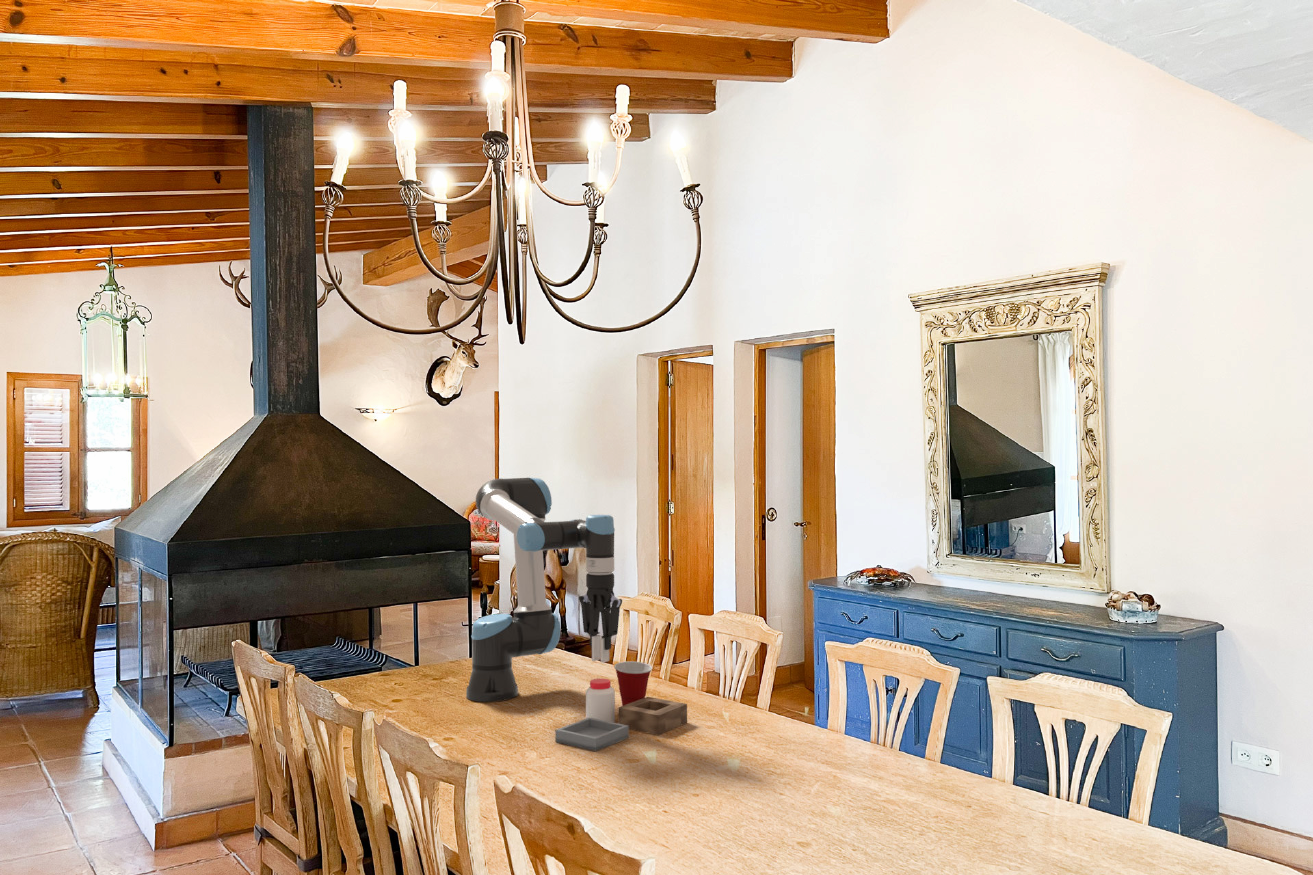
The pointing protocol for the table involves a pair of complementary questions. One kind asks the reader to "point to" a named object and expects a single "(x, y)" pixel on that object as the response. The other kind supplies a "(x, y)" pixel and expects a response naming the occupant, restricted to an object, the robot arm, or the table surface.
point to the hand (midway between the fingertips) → (600, 660)
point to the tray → (592, 734)
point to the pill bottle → (600, 700)
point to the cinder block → (653, 715)
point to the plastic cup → (632, 680)
